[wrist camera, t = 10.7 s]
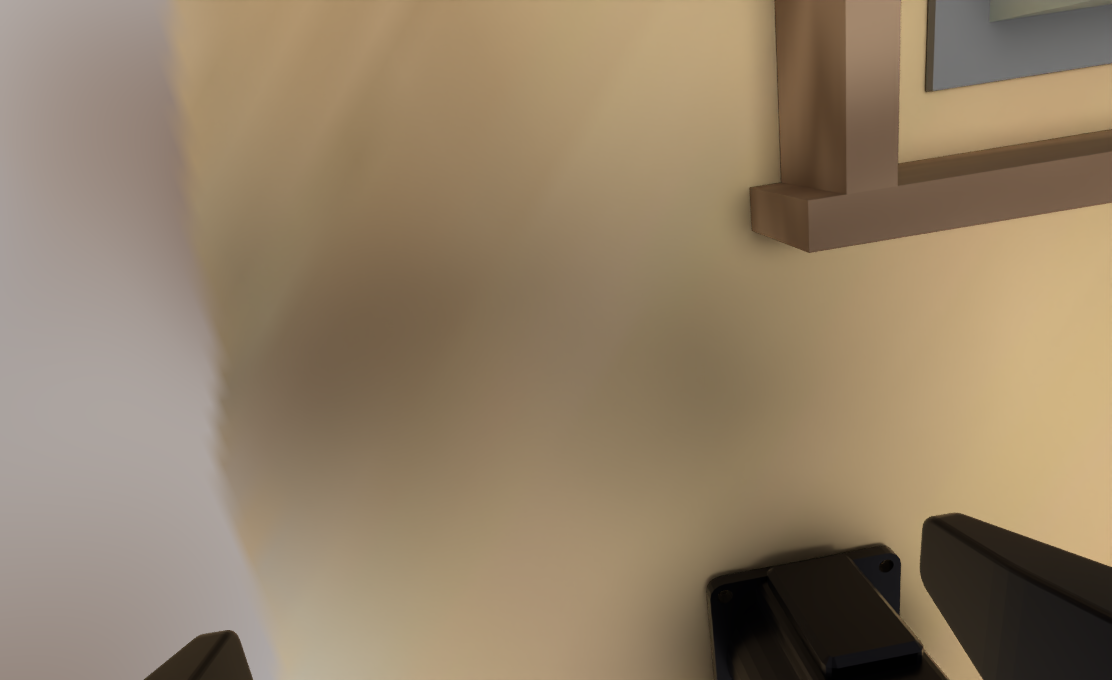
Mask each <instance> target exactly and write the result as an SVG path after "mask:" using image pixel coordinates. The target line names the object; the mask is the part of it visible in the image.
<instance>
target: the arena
mask: <svg viewBox="0 0 1112 680" xmlns="http://www.w3.org/2000/svg"><path fill="white" fill-rule="evenodd" d="M775 14H776V42H777V70H778V98H779V127H780V155H781V183H775V184H769V185H762V186H756V187H750V200H751V220H752V231H754V232H757V233H760V234H762V235H765V236H767V237H770V238H772V239H775V240H778V241H780V242H783V243H785V244H788V245H791V246H793V247H796V248H798V249H801V250H803V251H806V252H809V253H811V252H817V251H823V250H829V249H835V248H841V247H847V246H853V245H859V244H865V243H871V242H877V241H883V240H889V239H895V238H901V237H907V236H913V235H919V234H925V233H931V232H937V231H943V230H949V229H955V228H961V227H968V226H974V225H980V224H986V223H992V222H998V221H1004V220H1010V219H1016V218H1022V217H1028V216H1034V215H1040V214H1046V213H1052V212H1058V211H1064V210H1070V209H1076V208H1082V207H1088V206H1094V205H1100V204H1106V203H1112V130H1105V131H1099V132H1093V133H1087V134H1081V135H1074V136H1068V137H1062V138H1056V139H1049V140H1043V141H1037V142H1031V143H1024V144H1018V145H1012V146H1006V147H999V148H993V149H987V150H981V151H974V152H968V153H962V154H956V155H950V156H943V157H937V158H931V159H925V160H918V161H912V162H906V163H900V164H898V134H899V82H900V30H901V0H775Z"/></svg>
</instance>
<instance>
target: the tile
mask: <svg viewBox="0 0 1112 680" xmlns="http://www.w3.org/2000/svg"><path fill="white" fill-rule="evenodd" d="M990 1H991V0H929V3H928V35H927V67H926V92H927V91H936V90H942V89H949V88H955V87H962V86H968V85H975V84H981V83H987V82H994V81H1000V80H1007V79H1013V78H1020V77H1026V76H1032V75H1039V74H1045V73H1052V72H1058V71H1065V70H1071V69H1078V68H1084V67H1090V66H1097V65H1103V64H1110V63H1112V4H1109V5H1102V6H1095V7H1089V8H1082V9H1075V10H1069V11H1062V12H1055V13H1048V14H1042V15H1035V16H1028V17H1021V18H1015V19H1008V20H1001V21H994V22H989V18H990Z"/></svg>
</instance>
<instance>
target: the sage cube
mask: <svg viewBox="0 0 1112 680" xmlns="http://www.w3.org/2000/svg"><path fill="white" fill-rule="evenodd" d="M1109 4H1112V0H991V1H990V18H989V22H994V21H1001V20H1008V19H1015V18H1021V17H1028V16H1035V15H1042V14H1048V13H1055V12H1062V11H1069V10H1075V9H1082V8H1089V7H1095V6H1102V5H1109Z"/></svg>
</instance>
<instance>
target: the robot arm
mask: <svg viewBox="0 0 1112 680" xmlns="http://www.w3.org/2000/svg"><path fill="white" fill-rule="evenodd" d="M884 560H886V561H885V562H884V563H883V564H881V565H880V563H881V562H882V561H884ZM920 575H921V579H922V582H923V584H924V586H925V588H926V590H927V592H928V593H929V595H930V596H931V598H932V599H933V601H934V603H935V604H936V606H937V607H938V609H939V611H940V612H941V614H942V615H943V617H944V618H945V620H946V622H947V623H948V625H949V626H950V628H951V630H952V631H953V633H954V634H955V636H956V637H957V639H958V641H959V642H960V644H961V645H962V647H963V649H964V650H965V652H966V653H967V655H968V656H969V658H970V660H971V661H972V663H973V664H974V666H975V668H976V669H977V671H978V672H979V674H980V676H981V677H982V679H983V680H1112V567H1110V566H1107V565H1104V564H1101V563H1099V562H1096V561H1093V560H1090V559H1087V558H1085V557H1082V556H1079V555H1076V554H1073V553H1070V552H1068V551H1065V550H1062V549H1059V548H1056V547H1054V546H1051V545H1048V544H1045V543H1042V542H1040V541H1037V540H1034V539H1031V538H1028V537H1026V536H1023V535H1020V534H1017V533H1014V532H1011V531H1009V530H1006V529H1003V528H1000V527H997V526H995V525H992V524H989V523H986V522H983V521H981V520H978V519H975V518H972V517H969V516H967V515H964V514H961V513H949V514H943V515H936V516H931V517H929V518H927V519H926V520H925V522H924V524H923V528H922V541H921V555H920ZM900 576H901V562H900V558H899V557H898V556H897V555H896V554H895V553H894V552H893V551H892V550H891V549H890V548H889V547H886V546H878V547H873V548H867V549H862V550H857V551H852V552H846V553H841V554H836V555H830V556H825V557H820V558H814V559H809V560H804V561H799V562H793V563H788V564H783V565H777V566H772V567H767V568H761V569H756V570H751V571H745V572H740V573H735V574H730V575H724V576H719V577H717V578H714V579H713V580H712V581H710V583H709V584H708V586H707V591H706V593H707V604H708V615H709V627H710V638H711V649H712V661H713V672H714V680H949V679H948V678H947V676H946V675H945V674H944V673H943V672H942V670H941V669H940V668H939V667H938V666H937V664H936V663H935V662H934V661H933V660H932V658H931V657H930V656H929V655H928V654H927V652H926V651H925V650H924V649H923V645H922V643H921V641H920V640H919V639H918V638H917V636H916V635H915V634H914V633H913V632H912V631H911V629H910V628H909V627H908V626H907V625H906V623H905V622H904V621H903V620H902V619H901V618H900ZM724 590H728V591H727V592H726V593H725V594H723V595H718V594H719V593H720V592H722V591H724ZM144 680H253V678H252V675H251V672H250V669H249V666H248V663H247V660H246V657H245V654H244V651H243V648H242V645H241V642H240V639H239V637H238V635H237V634H236V633H235V632H234V631H231V630H225V631H219V632H213V633H206V634H202V635H199V636H198V637H196V638H194V639H193V640H192V641H191V642H189V643H188V644H187V645H186V646H185V647H183V648H182V649H181V650H180V651H178V652H177V653H176V654H175V655H173V656H172V657H171V658H170V659H169V660H167V661H166V662H165V663H164V664H162V665H161V666H160V667H159V668H158V669H156V670H155V671H154V672H153V673H151V674H150V675H149V676H148V677H147V678H145V679H144Z"/></svg>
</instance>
